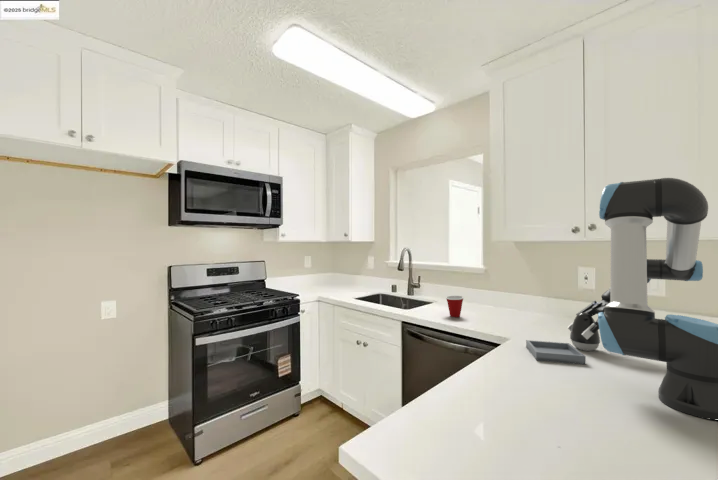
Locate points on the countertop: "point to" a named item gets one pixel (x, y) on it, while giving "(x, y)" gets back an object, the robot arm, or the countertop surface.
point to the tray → (555, 352)
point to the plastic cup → (454, 305)
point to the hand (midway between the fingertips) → (576, 333)
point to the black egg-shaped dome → (578, 328)
